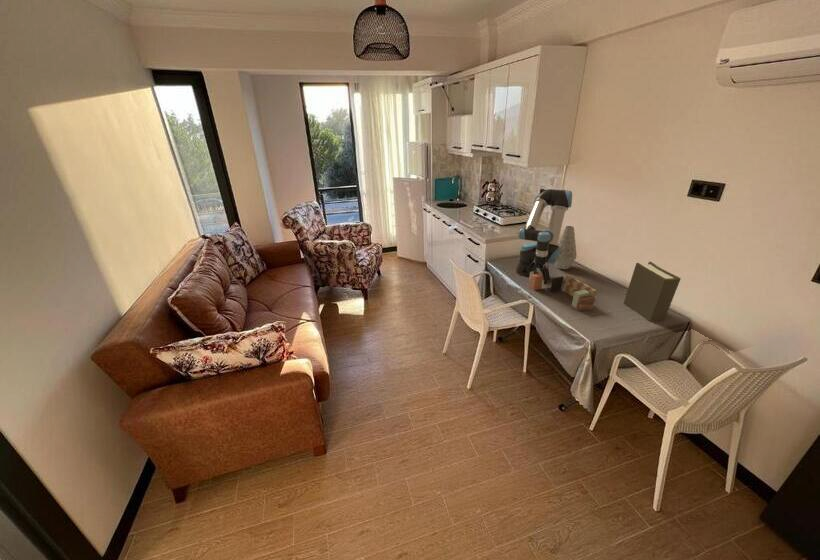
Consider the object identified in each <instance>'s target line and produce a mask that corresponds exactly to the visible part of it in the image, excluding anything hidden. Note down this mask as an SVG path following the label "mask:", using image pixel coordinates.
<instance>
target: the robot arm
mask: <svg viewBox="0 0 820 560" xmlns="http://www.w3.org/2000/svg"><path fill="white" fill-rule="evenodd" d="M532 204H533V207H532V208H531V210H530V214H529V216H528V218H527V221H526V223H525V225H524V228H523V227H521V228H520V229H519V230H518V239H520V240H524V241H528V242H524V243H522V244H521V246H520V252H519V262H518V263H517V265H516V268H515V272H516V273H517V274H518V275H520V276H525V277H529V278H528V280H529V281H531V276H532V275H533V274H538V270H537V269H539V271H540V272H541V273H542V275H543V281H542V289H547V283H548V281H551V278H550V277H551V276H550V270H549V265H548V264H550V265H551V264H552V265H555V263H556V261H557V259H558V257H559V254H560V249H559V246H558V243H559V240H560V234H561V230H562V226H563V221H564V217H565V214H566V212H567V211H568V210H569V208H571V207H572V204H573V192H572V190H569V189H568V190H566V189H552V188H551V189H545V190H543V191H542V192H540V193H538V195H537V196H536V197H535V198H534V201H533V202H532ZM548 206H550V208H551V215H550V219H549V224H548V227H547V229H546V230H540V229H539V230H538V229H537V227H538V225H539V223H540V220H541V218H542V217H541V216H542V215H543V212H544V210H545V209H546V208H547V207H548Z"/></svg>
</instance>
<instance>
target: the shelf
mask: <svg viewBox="0 0 820 560" xmlns="http://www.w3.org/2000/svg"><path fill="white" fill-rule="evenodd" d="M580 290H587V291H589V292H590V295H589V296H585V297H581V298H578V303H577V307H576V308H575V310H576V311H578V312H583V311H584V312H585V311H589V310H593V308H594V305H595V299H596V295H597V294H596V292H597V289H596V288H595V289H594V287H591V286H590V285H588V284H586V283H584V282H582V281H581V280H578V279H577V278H576V277H573V276H571V275H570V274H566V275H565V280H564V285H563V292H565V293H567V295H570V296H571V297H573V296H574V292H576V291H580Z"/></svg>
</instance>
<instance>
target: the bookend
mask: <svg viewBox="0 0 820 560" xmlns="http://www.w3.org/2000/svg"><path fill="white" fill-rule="evenodd" d="M563 282H564V276H556V277H553V278H552V281H551V286H549V287H546V289H547V290H548V291H550V292H551V293H555V292H559V291H562V287H563Z"/></svg>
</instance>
